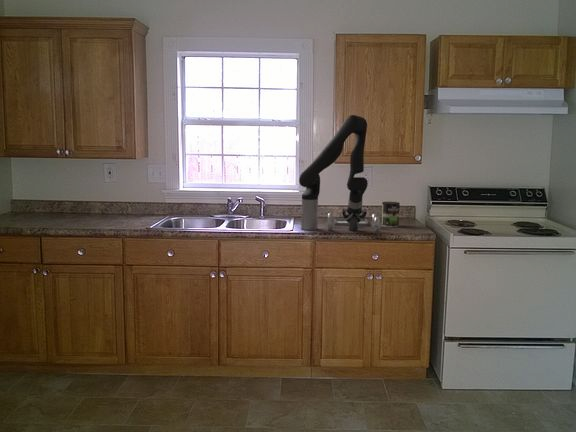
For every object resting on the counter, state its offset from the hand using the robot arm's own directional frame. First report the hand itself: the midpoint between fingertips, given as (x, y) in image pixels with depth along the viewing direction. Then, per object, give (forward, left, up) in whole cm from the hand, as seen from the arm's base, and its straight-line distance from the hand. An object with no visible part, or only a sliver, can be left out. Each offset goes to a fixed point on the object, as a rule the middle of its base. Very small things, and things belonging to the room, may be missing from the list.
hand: (353, 221), depth 312 cm
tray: (0, +22, -5) cm, 23 cm away
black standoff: (0, -2, -5) cm, 5 cm away
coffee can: (+23, +16, -5) cm, 29 cm away
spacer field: (0, +3, -5) cm, 5 cm away
